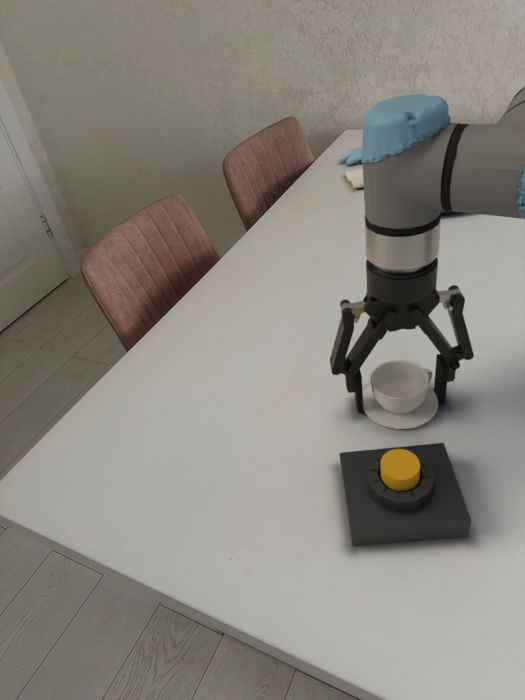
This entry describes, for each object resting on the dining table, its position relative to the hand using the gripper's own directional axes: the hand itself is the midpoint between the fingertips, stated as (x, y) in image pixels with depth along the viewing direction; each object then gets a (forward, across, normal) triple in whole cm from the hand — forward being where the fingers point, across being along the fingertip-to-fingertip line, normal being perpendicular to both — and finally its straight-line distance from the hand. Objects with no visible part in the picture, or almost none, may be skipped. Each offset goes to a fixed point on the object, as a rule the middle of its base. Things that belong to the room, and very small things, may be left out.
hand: (399, 401), depth 67 cm
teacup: (0, 0, 0) cm, 0 cm away
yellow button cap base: (0, +3, +15) cm, 15 cm away
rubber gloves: (+1, -19, -88) cm, 90 cm away
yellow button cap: (-4, +3, +15) cm, 16 cm away
